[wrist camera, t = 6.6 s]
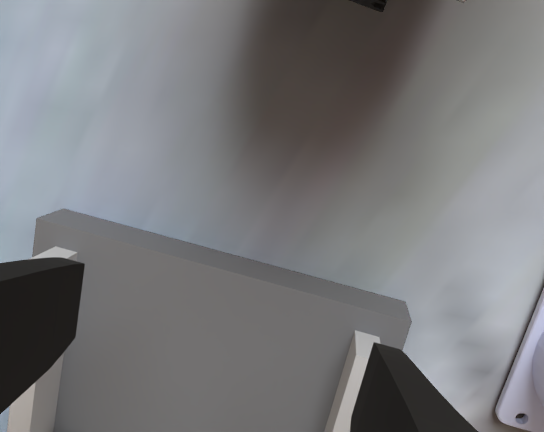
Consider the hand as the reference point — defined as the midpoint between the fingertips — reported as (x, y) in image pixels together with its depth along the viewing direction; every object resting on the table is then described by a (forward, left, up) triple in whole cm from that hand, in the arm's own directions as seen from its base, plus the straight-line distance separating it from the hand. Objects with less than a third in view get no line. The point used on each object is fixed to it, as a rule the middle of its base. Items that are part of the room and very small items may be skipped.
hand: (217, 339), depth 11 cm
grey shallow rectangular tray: (+2, +11, -10) cm, 15 cm away
